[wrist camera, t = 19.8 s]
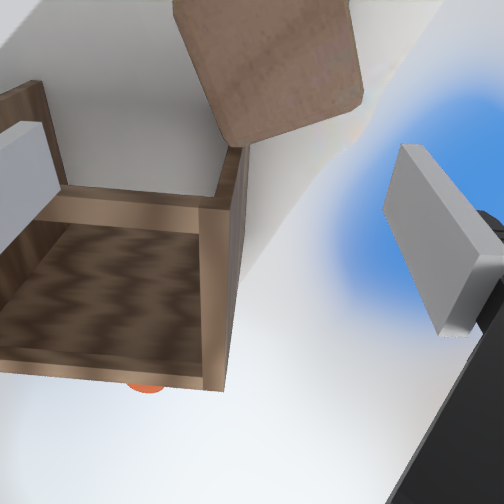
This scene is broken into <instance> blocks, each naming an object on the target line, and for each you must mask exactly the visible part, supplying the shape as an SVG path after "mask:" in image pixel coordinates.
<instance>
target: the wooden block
mask: <svg viewBox="0 0 504 504" xmlns="http://www.w3.org/2000/svg"><path fill="white" fill-rule="evenodd" d="M172 3H173V16H174V19H175V21H176V24H177V26H178V29H179V31H180V34H181V36H182V38H183V41H184V43H185V46H186V48H187V51H188V53H189V56H190V58H191V60H192V63H193V65H194V68H195V70H196V73H197V75H198V78H199V80H200V82H201V85H202V87H203V90H204V92H205V95H206V97H207V100H208V102H209V104H210V107H211V109H212V112H213V114H214V117H215V119H216V122H217V124H218V126H219V129H220V131H221V134H222V136H223V139H224V140H225V141H226V142H227V143H228V144H229V145H230V147H243V146H246V145H249V144H252V143H255V142H258V141H261V140H264V139H268V138H271V137H274V136H277V135H280V134H283V133H286V132H289V131H292V130H295V129H298V128H301V127H304V126H307V125H310V124H313V123H316V122H319V121H322V120H326V119H329V118H332V117H335V116H338V115H341V114H344V113H347V112H350V111H352V110H353V109H355V108H356V107H358V106H359V105H361V103H362V98H363V93H364V89H363V83H362V77H361V72H360V66H359V61H358V55H357V49H356V44H355V38H354V33H353V27H352V22H351V16H350V10H349V5H348V0H173V1H172Z"/></svg>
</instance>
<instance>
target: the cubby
mask: <svg viewBox="0 0 504 504" xmlns="http://www.w3.org/2000/svg"><path fill="white" fill-rule="evenodd" d="M20 121H32V122H42V125H43V129H44V132H45V136H46V139H47V143H48V146H49V150H50V153H51V157H52V160H53V164H54V167H55V171H56V174H57V178H58V181H59V185H60V188H61V190H60V191H59V192H58V193H57V194H56V195H55V196H54V197H53V199H52V200H51V201H50V202H49V203H48V204H47V205H46V206H45V207H44V208H43V209H42V210H41V211H40V212H39V213H38V214H37V216H36V217H35V218H34V219H33V220H32V221H31V222H30V223H29V224H28V225H27V226H26V227H25V228H24V229H23V230H22V232H21V233H20V234H19V235H18V236H17V237H16V238H15V239H14V240H13V241H12V242H11V243H10V244H9V245H8V246H7V247H6V249H5V250H4V251H3V252H2V253H1V254H0V372H4V373H15V374H16V373H17V374H28V375H38V376H49V377H60V378H72V379H83V380H94V381H105V382H118V383H128V384H139V385H150V386H162V387H173V388H184V389H195V390H207V391H218V392H224V387H225V379H226V371H227V365H228V357H229V349H230V342H231V334H232V327H233V319H234V312H235V304H236V296H237V289H238V281H239V274H240V266H241V258H242V251H243V243H244V232H245V216H246V199H247V183H248V167H249V150H250V144H249V145H246V146H243V147H230V145H229V146H228V150H227V154H226V157H225V161H224V164H223V168H222V171H221V175H220V178H219V182H218V185H217V189H216V192H215V196H214V197H203V196H191V195H179V194H167V193H156V192H144V191H132V190H120V189H108V188H96V187H84V186H72V185H68V183H67V179H66V175H65V171H64V168H63V164H62V160H61V156H60V152H59V148H58V144H57V140H56V136H55V132H54V128H53V124H52V120H51V116H50V112H49V108H48V104H47V100H46V96H45V92H44V88H43V84H42V81H36V80H31V81H29V82H26V83H24V84H22V85H20V86H18V87H16V88H14V89H11V90H9V91H7V92H5V93H3V94H1V95H0V134H1V133H2V132H4V131H5V130H7V129H9V128H10V127H12V126H13V125H15V124H17V123H18V122H20Z"/></svg>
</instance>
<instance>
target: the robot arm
mask: <svg viewBox="0 0 504 504" xmlns="http://www.w3.org/2000/svg"><path fill="white" fill-rule="evenodd" d="M60 190H61V188H60V185H59V181H58V178H57V174H56V171H55V167H54V164H53V160H52V157H51V153H50V150H49V146H48V143H47V139H46V136H45V132H44V129H43V125H42V122H32V121H20V122H18V123H17V124H15V125H13V126H12V127H10V128H9V129H7V130H5V131H4V132H2V133H1V134H0V254H1V253H2V252H3V251H4V250H5V249H6V247H7V246H8V245H9V244H10V243H11V242H12V241H13V240H14V239H15V238H16V237H17V236H18V235H19V234H20V233H21V232H22V230H23V229H24V228H25V227H26V226H27V225H28V224H29V223H30V222H31V221H32V220H33V219H34V218H35V217H36V216H37V214H38V213H39V212H40V211H41V210H42V209H43V208H44V207H45V206H46V205H47V204H48V203H49V202H50V201H51V200H52V199H53V197H54V196H55V195H56V194H57V193H58V192H59V191H60ZM382 210H383V212H384V214H385V217H386V219H387V221H388V223H389V226H390V228H391V230H392V233H393V235H394V237H395V239H396V242H397V244H398V246H399V248H400V250H401V253H402V255H403V257H404V260H405V262H406V264H407V266H408V269H409V271H410V273H411V276H412V278H413V280H414V282H415V285H416V287H417V289H418V291H419V294H420V296H421V298H422V300H423V303H424V305H425V307H426V309H427V312H428V314H429V316H430V319H431V321H432V323H433V325H434V327H435V330H436V332H437V334H438V336H444V337H459V338H467V337H468V335H469V334H470V332H471V330H472V329H473V327H474V325H475V323H476V322H477V324H478V325H479V327H480V329H481V331H482V332H483V335H482V337H481V339H480V340H479V342H478V344H477V345H476V347H475V348H474V350H473V352H472V353H471V355H470V357H469V358H468V360H467V363H466V364H465V366H464V368H463V370H462V371H461V373H460V375H459V377H458V378H457V380H456V382H455V383H454V385H453V387H452V389H451V390H450V392H449V394H448V396H447V398H446V399H445V401H444V403H443V404H442V406H441V408H440V409H439V411H438V413H437V415H436V416H435V418H434V420H433V422H432V423H431V425H430V427H429V429H428V430H427V432H426V434H425V436H424V437H423V439H422V441H421V442H420V444H419V446H418V448H417V449H416V451H415V453H414V455H413V456H412V458H411V460H410V462H409V463H408V465H407V467H406V468H405V470H404V472H403V474H402V475H401V477H400V479H399V481H398V482H397V484H396V486H395V488H394V489H393V491H392V493H391V494H390V496H389V498H388V500H387V502H386V503H385V504H504V226H503V225H502V224H501V223H500V222H499V221H498V220H497V219H496V218H494V217H493V216H491V215H489V214H488V213H486V212H485V211H479V210H475V209H474V207H473V206H472V205H471V204H470V203H469V201H468V200H467V199H466V198H465V196H464V195H463V194H462V193H461V191H460V190H459V189H458V188H457V187H456V185H455V184H454V183H453V182H452V180H451V179H450V178H449V177H448V176H447V174H446V173H445V172H444V171H443V170H442V168H441V167H440V166H439V165H438V164H437V162H436V161H435V160H434V159H433V157H432V156H431V155H430V154H429V152H428V151H427V150H426V149H425V148H424V146H423V145H416V144H401V146H400V149H399V153H398V156H397V160H396V163H395V167H394V170H393V173H392V177H391V181H390V184H389V187H388V191H387V195H386V198H385V202H384V205H383V209H382Z"/></svg>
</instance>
